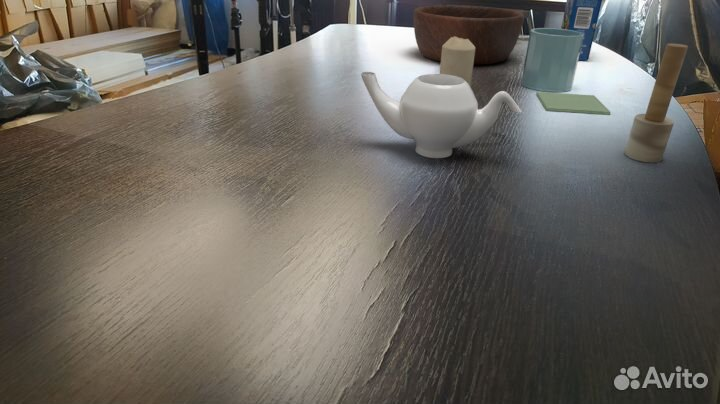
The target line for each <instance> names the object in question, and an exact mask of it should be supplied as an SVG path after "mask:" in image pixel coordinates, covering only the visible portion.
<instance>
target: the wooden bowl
mask: <svg viewBox="0 0 720 404" xmlns="http://www.w3.org/2000/svg"><path fill="white" fill-rule="evenodd" d="M524 21H525V14H523V13H522V12H520V11H517V10H512V9H507V8H502V7H501V8H500V7H490V6H480V5H464V4H463V5H462V4H461V5H459V4H444V5H443V4H439V5H438V4H437V5H425V6H419V7H416V8H415V9H414V10H413V30H414V32H413V33H414V38H415V41H416V45H417V48H418V50H419V52H420V54H421V55H422V56H423V57H425V58H427V59H429V60H432V61H437V62H441V55H442V46H443V45H444V44H445V43H446V42H447V41H448V40H449V39H450V38H451V37H455V36H456V37H458V38H463V39H469V41H470V42H471V43H472V44H473V45H474V46H475V55H474V63H473V66H475V65H476V66H477V65H478V66H479V65H481V66H482V65H494V64H498V63H501V62H503V61H505V60H506V59H508V58H509V56H510V55H511V53H512V52H513V50H514V49H515V46H516V45H517V43H518V40H519V37H520V35H521V31H522V28H523V24H524Z"/></svg>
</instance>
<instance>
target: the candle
mask: <svg viewBox="0 0 720 404" xmlns="http://www.w3.org/2000/svg"><path fill="white" fill-rule="evenodd" d="M474 55H475V46H474V45H473V44H472V43H471V42H470V41H469V39H463V38H458V37H456V36H455V37H451V38H450V39H449V40H448V41H447V42H446V43H445V44H444V45H443V46H442V55H441V61H440V65H439V74H446V75H453V76H457V77H460V78H462V79H464V80H465V81H466V82H467V83H468V84H469V85H470V87H471V88H472V77H473V71H474V70H473V69H474V65H473V63H474Z"/></svg>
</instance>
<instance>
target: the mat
mask: <svg viewBox="0 0 720 404" xmlns="http://www.w3.org/2000/svg"><path fill="white" fill-rule="evenodd" d="M535 95H536V97H537V98H538V99H539V101H540V103H541V105H542V106H543V107H544V109H545V111H548V112H560V113H561V112H562V113H578V114H590V115H591V114H592V115H593V114H594V115H608V116H609V115H611V110H609V109H608V107H606V106H605V105H604V104H603V103H602V101H600V99H598V98H597V97H596V96H595V95H594V94H578V93H564V92H545V91H536V94H535Z"/></svg>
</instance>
